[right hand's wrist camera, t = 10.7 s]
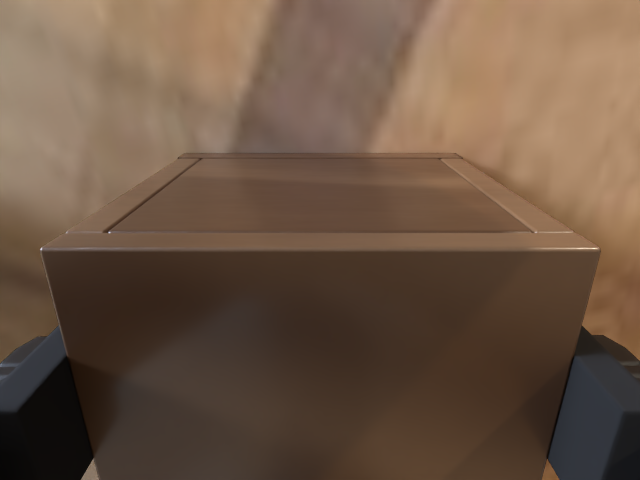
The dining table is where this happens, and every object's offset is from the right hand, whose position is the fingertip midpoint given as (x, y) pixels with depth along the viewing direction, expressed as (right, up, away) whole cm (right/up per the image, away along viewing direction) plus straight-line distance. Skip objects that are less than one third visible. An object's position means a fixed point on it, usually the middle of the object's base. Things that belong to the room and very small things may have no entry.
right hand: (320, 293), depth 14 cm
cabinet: (0, -3, +5) cm, 6 cm away
